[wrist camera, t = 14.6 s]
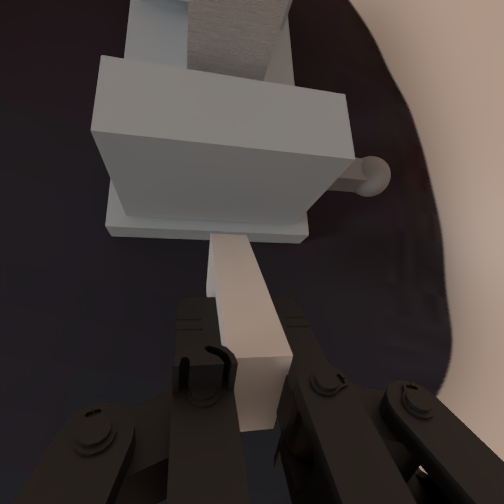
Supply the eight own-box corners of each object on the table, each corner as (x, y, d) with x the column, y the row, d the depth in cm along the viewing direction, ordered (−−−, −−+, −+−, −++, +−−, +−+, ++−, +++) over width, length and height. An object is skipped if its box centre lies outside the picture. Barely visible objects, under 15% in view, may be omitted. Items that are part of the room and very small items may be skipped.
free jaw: (126, 215, 15) (90, 130, 9) (131, 156, 16) (103, 43, 10) (356, 227, 18) (444, 169, 12) (349, 176, 19) (427, 98, 13)
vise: (111, 236, 17) (51, 140, 9) (138, -24, 23) (116, -217, 15) (318, 244, 19) (410, 176, 12) (293, 10, 25) (344, -137, 18)
